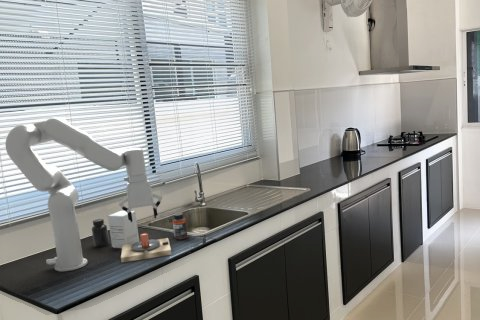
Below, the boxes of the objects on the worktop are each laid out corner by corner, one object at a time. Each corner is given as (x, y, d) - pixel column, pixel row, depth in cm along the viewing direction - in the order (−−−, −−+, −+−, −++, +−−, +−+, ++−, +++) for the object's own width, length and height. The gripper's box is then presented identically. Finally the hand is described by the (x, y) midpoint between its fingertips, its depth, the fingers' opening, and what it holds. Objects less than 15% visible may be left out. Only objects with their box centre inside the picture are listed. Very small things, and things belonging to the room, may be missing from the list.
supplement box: (124, 241, 209) (120, 210, 207) (140, 242, 205) (136, 210, 203) (111, 247, 201) (106, 215, 199) (126, 249, 197) (122, 216, 195)
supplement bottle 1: (103, 242, 211) (99, 217, 209) (112, 243, 207) (109, 218, 205) (90, 246, 205) (87, 221, 204) (100, 248, 201) (96, 222, 200)
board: (121, 262, 179) (120, 256, 179) (123, 249, 197) (122, 243, 196) (171, 254, 183) (170, 248, 183) (168, 242, 201) (168, 236, 200)
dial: (131, 244, 194) (129, 229, 193) (159, 240, 197) (157, 225, 196) (131, 253, 182) (129, 237, 181) (160, 248, 184) (158, 233, 184)
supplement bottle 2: (181, 235, 210) (178, 211, 209) (190, 236, 206) (187, 212, 205) (172, 239, 205) (169, 215, 204) (180, 240, 202) (178, 216, 200)
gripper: (115, 183, 176) (121, 225, 178) (159, 176, 179) (165, 218, 181) (116, 180, 183) (122, 221, 185) (158, 174, 186) (164, 214, 189)
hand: (143, 219), depth 183 cm, fingers open, 9 cm apart
